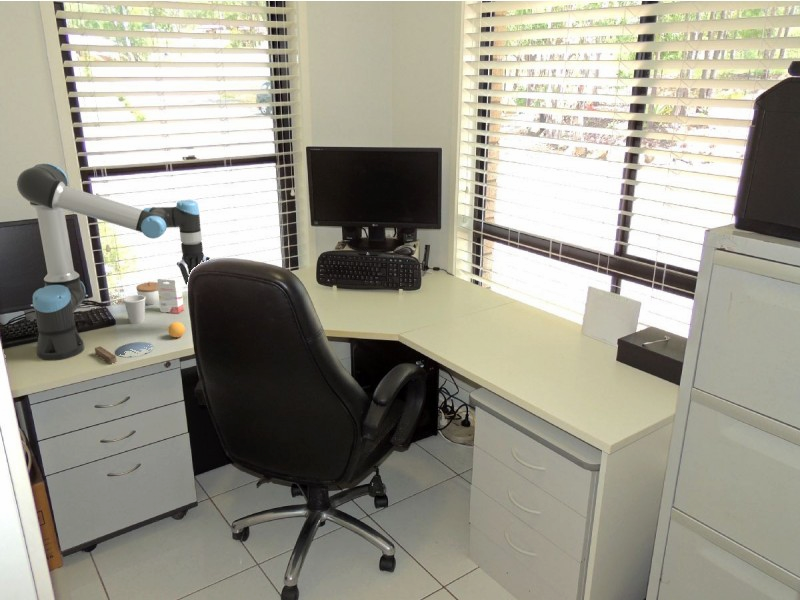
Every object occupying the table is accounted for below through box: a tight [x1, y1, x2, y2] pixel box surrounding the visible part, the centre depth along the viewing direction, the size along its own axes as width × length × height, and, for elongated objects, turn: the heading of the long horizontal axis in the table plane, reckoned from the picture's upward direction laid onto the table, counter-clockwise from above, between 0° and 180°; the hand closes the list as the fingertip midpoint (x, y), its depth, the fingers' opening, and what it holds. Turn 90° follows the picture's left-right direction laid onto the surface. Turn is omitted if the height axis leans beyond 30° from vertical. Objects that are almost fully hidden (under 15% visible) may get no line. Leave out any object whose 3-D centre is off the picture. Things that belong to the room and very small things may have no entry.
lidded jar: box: [136, 281, 160, 306], centre depth 273 cm, size 11×11×9 cm
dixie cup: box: [122, 294, 146, 325], centre depth 251 cm, size 8×8×10 cm
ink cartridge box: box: [157, 278, 185, 314], centre depth 263 cm, size 9×5×15 cm, turn 80°
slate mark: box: [115, 341, 154, 356], centre depth 227 cm, size 13×13×1 cm
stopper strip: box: [94, 346, 117, 365], centre depth 219 cm, size 2×12×2 cm, turn 48°
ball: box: [167, 321, 186, 338], centre depth 238 cm, size 6×6×6 cm
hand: (197, 300), depth 242 cm, fingers closed
